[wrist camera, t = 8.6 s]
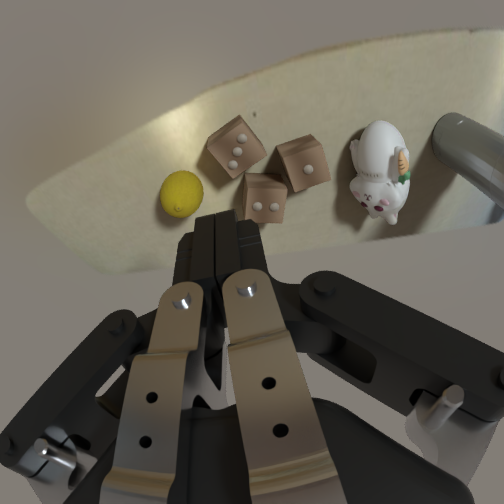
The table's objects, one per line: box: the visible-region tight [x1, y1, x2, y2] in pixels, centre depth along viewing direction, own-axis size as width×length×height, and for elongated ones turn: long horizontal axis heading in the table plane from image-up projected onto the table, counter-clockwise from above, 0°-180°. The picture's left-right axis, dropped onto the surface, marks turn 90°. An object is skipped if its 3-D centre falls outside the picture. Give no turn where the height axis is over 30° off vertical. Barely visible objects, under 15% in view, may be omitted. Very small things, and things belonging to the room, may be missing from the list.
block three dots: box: [207, 115, 267, 178], centre depth 36 cm, size 5×5×5 cm
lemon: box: [160, 171, 204, 218], centre depth 37 cm, size 6×6×8 cm
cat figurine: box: [350, 120, 410, 225], centre depth 38 cm, size 10×8×15 cm
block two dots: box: [242, 173, 288, 223], centre depth 40 cm, size 5×5×5 cm
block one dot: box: [276, 134, 331, 192], centre depth 38 cm, size 5×5×5 cm
